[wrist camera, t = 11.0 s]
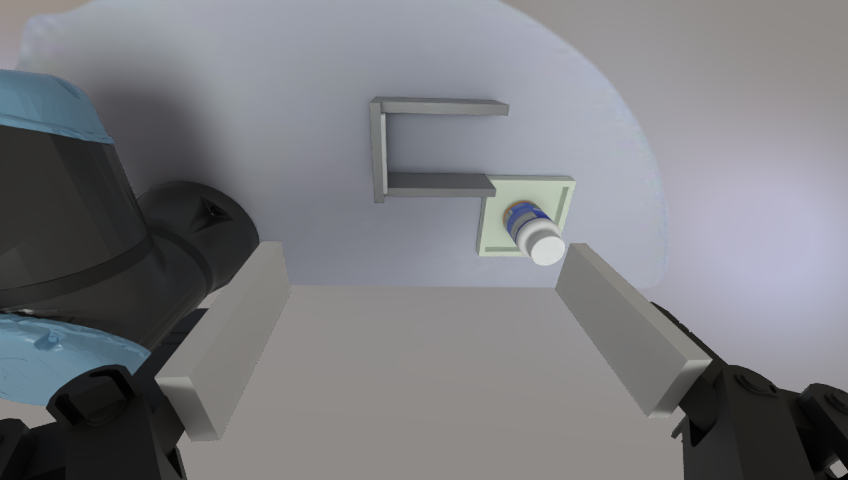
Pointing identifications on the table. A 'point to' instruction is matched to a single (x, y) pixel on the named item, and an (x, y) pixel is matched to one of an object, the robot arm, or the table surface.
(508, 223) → the pill bottle
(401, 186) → the bay
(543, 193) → the tray
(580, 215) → the table surface
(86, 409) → the robot arm
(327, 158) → the table surface
